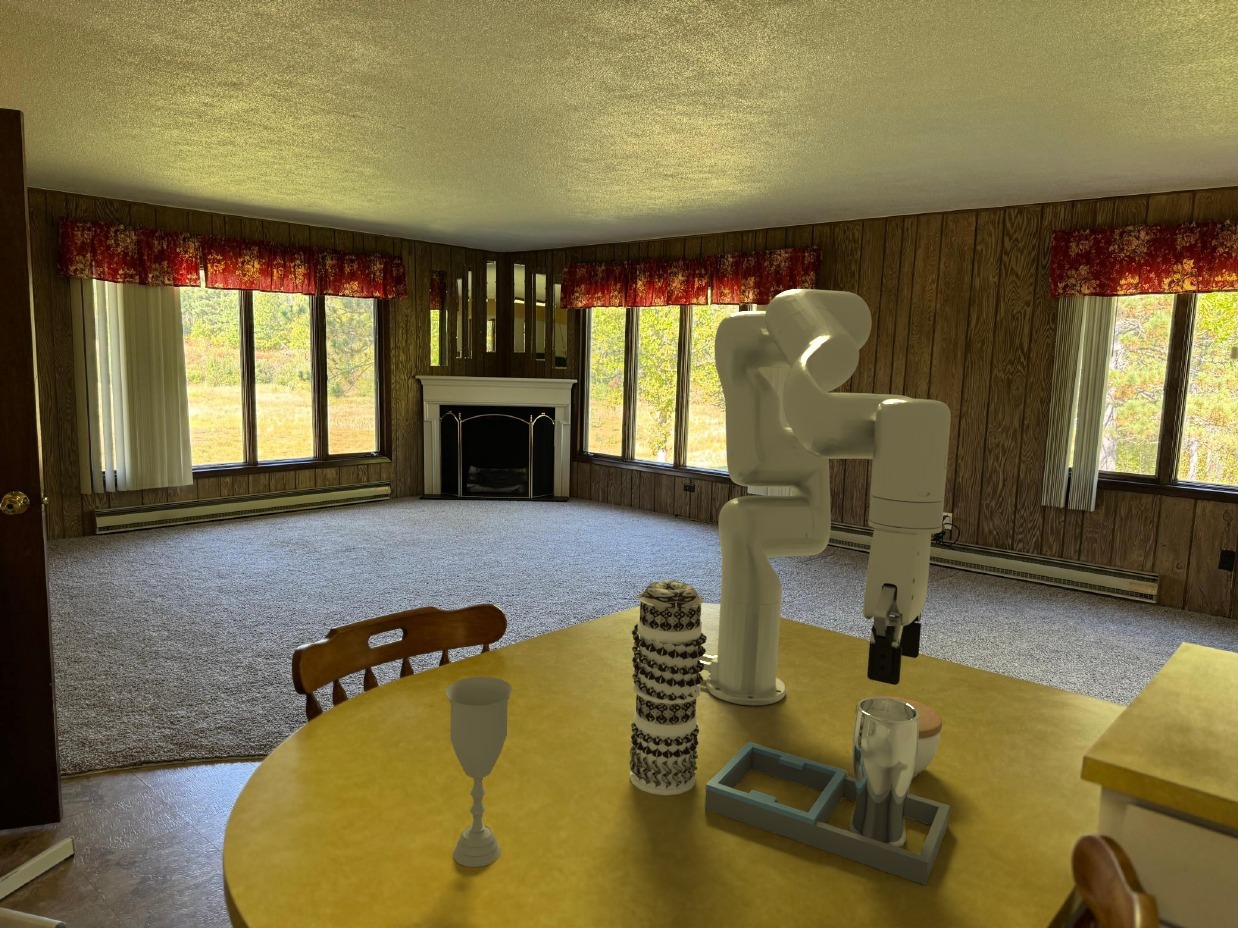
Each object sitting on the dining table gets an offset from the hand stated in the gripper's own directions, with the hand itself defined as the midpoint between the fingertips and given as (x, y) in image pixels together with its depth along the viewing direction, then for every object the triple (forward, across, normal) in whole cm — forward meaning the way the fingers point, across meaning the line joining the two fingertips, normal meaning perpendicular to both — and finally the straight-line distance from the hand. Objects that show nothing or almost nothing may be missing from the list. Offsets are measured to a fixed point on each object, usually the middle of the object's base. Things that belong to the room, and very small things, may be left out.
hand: (893, 667), depth 90 cm
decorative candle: (+20, +2, -27) cm, 33 cm away
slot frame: (+20, -1, -6) cm, 21 cm away
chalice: (+20, +27, -36) cm, 49 cm away
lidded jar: (+20, -18, -2) cm, 27 cm away
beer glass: (+20, -1, -1) cm, 20 cm away
